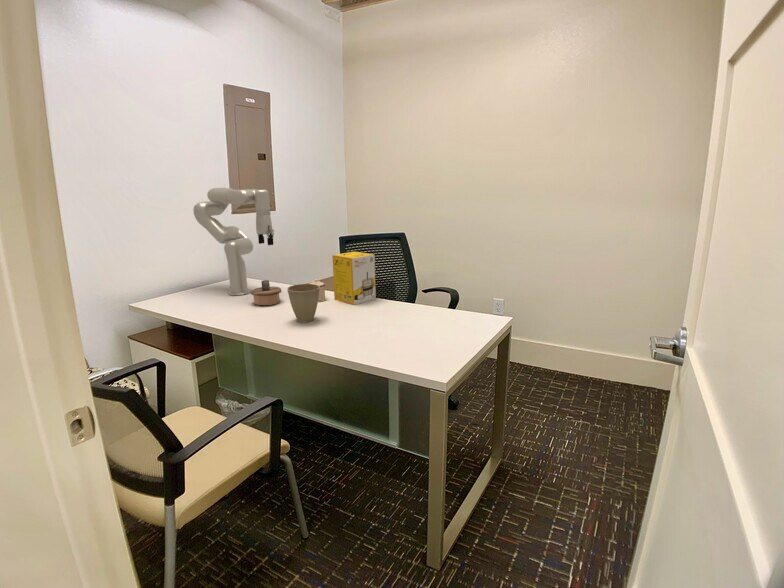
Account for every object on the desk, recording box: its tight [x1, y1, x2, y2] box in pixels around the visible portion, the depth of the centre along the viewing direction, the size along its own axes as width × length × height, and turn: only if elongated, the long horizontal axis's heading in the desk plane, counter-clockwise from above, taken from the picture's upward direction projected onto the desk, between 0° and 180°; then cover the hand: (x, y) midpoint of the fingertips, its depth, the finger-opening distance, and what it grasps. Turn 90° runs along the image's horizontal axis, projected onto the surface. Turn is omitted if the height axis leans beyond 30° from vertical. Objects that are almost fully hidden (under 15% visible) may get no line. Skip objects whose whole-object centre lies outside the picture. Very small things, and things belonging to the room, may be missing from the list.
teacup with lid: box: [308, 278, 326, 303], centre depth 243 cm, size 12×9×12 cm
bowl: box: [253, 293, 281, 306], centre depth 238 cm, size 12×12×6 cm
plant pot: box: [286, 283, 320, 323], centre depth 207 cm, size 15×15×16 cm
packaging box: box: [331, 251, 377, 306], centre depth 240 cm, size 16×16×25 cm
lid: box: [250, 279, 282, 297], centre depth 237 cm, size 16×16×6 cm
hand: (266, 244), depth 243 cm, fingers open, 9 cm apart
